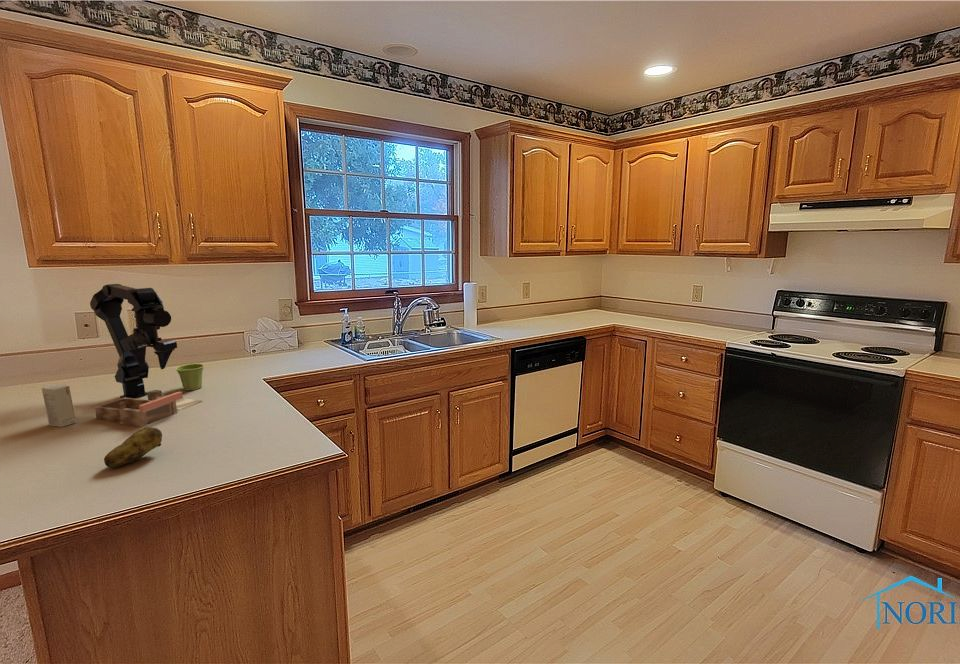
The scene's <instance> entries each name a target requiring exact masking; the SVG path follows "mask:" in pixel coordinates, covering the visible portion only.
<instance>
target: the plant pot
mask: <svg viewBox="0 0 960 664" xmlns="http://www.w3.org/2000/svg"><path fill="white" fill-rule="evenodd" d="M204 367H205V365H204V364H203V363H190V364H183V365H180V366H177V367H176V368H175V370H176V371H177V373H178V375H179V378H180V380H181V381H180V382H181V385H182V388H183V390H184V391H187V390H188V391H194V390H198V389H200V388H202V387H203V372H204V371H203V370H204Z"/></svg>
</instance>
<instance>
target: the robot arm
mask: <svg viewBox="0 0 960 664" xmlns="http://www.w3.org/2000/svg"><path fill="white" fill-rule="evenodd" d="M126 300H127V303H128V304H129V305H132V308H131V311H132V312H134V318H135V326H136V327H135V328H133V329H132V332H133V333H132V334H128V332H127V329H126V327H125V325H124V323H123V321H122V318H121V313H122V310H123V307H122V305H123V303H124V301H126ZM89 305H90V308H91V310H92V311H93V312H94V314H95V316H96V317H98V318H99V319H101V320H102V321H104V323H105V325H106V328H107V330H108V332H109V336H110V337H111V340H112V343H113V345H114V347H115V350H116V352H117V353H118V356H119V358H118V361H117V370H116V372H115V375H114V379H115V382H116V383H120V384H122V386H121V387H122V391H123V392H122V393H123V394H122V395H120V396H119V399H121V398H125V397H126V398H135V399H138V398H139V397H142V396H147V392H148V391H146V388H145V384H144V379H148V378H149V369H150V366H149V364H148V362H147V360H146V353H147V352H146V351H147V347H149V348H152V349H153V350H154V351H153V353H154V354H155V355H156V356H157V360H158V364H159V368H160V370H164V369H166V365H167V363H168V361H169V359H170V357H171V354H172V353H173V352H174V351H175V350H176V349H178V344H177V341H176V340H175V339H164V340H162V337H159V333H158V330H160V329H161V328H165V327H168V326H169V325H170V323H171V322H172V316H171V314H170V312H168V310H165V307H164V304H163V301H162V300H161V298H160V297H159V295H158V294H157V292H156V291H155V289H154V288H152V287H143V288H136V287H135V288H134V287H131V286H125V285H122V284H121V283H111V284H105V285H103V286H102V288H101V289H100V290H98V291H97V292H96V293H94V294H93V295H92V297H91V300H90V302H89Z"/></svg>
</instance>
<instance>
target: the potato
mask: <svg viewBox="0 0 960 664" xmlns="http://www.w3.org/2000/svg"><path fill="white" fill-rule="evenodd" d="M162 440H163V433H162V431H161V429H159V428H157V427H152V426H149V427H148V426H144V427H142V428H139V429H138V430H136V431H135V432H134V433H132V434H131V435H130V436H128V437H127V438H126V439H125V440H124V441H123V442H122V443H121V444H120V445H118V446H116V447H114V448H113V449H111V450H110V451H109V452H107V454H106V455H105V456H104V458H103V460H104V462H103V463H104V464H105V466H106V467H107V468H112V469H113V468H119V467H122V466H124V465H127V464H130V463H132V462H135V461H137V460H138V459H141V458H142V457H144V456H145V455H147V454H148V453H149V452H151V451H153V450H154V449H156V448H158V447H162Z"/></svg>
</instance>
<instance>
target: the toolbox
mask: <svg viewBox="0 0 960 664" xmlns="http://www.w3.org/2000/svg"><path fill="white" fill-rule="evenodd" d="M152 394H153V398H152V400H148V399H141V398H126V397H125V398H119V399H116V400H113V401H112V400H111V401H109V402H107V403H104V404H99V405H98V406H95V407H94V411H95V417H96V420H102V421H108V422H109V421H110V422H115V423H117V422H118V423H120V425H124V426H125V425H127V426H133V427H140V428H141V427H142V428H145V427H147V425H148V424H152V423H154V422H156V421H159V420H162V419H165V418H167V417H169V416H172V415H176V414H178V410H177V407H176V400H175V401H173V402H170V403H167V404H164V405H162V406H159V407H156V408H154V409H151V410H148V411H145V412H139V405H142V404H145V403H147V402H150V401H153V400H156V399H159V398H162V397H159V396H158V391H154V392H152Z"/></svg>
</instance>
